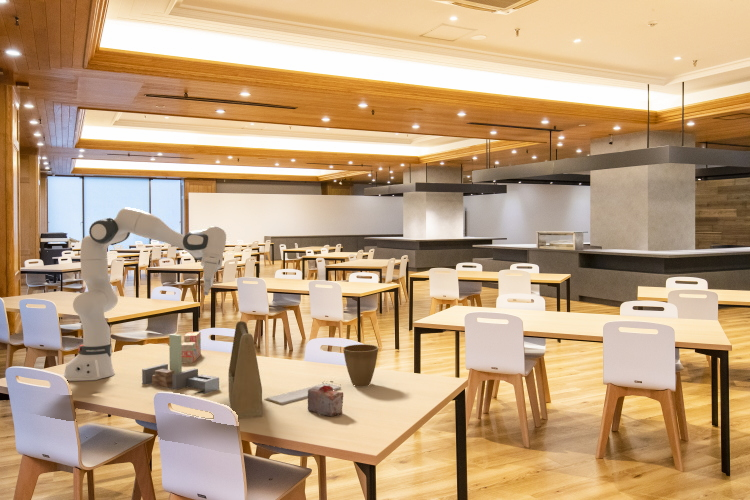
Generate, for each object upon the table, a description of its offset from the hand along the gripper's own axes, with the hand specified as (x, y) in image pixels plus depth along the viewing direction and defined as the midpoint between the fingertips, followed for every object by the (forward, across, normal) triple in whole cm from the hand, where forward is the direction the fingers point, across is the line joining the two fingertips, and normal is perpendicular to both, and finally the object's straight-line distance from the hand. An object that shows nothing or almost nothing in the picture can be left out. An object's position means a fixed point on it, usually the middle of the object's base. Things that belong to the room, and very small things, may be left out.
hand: (205, 293), depth 261 cm
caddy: (+45, +30, +23) cm, 59 cm away
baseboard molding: (+38, +19, +46) cm, 63 cm away
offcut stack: (+40, -2, -10) cm, 42 cm away
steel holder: (+41, +4, +6) cm, 41 cm away
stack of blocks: (+25, -58, -4) cm, 63 cm away
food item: (+44, +45, +51) cm, 81 cm away
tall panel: (+38, -6, -6) cm, 39 cm away
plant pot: (+31, +12, +71) cm, 78 cm away
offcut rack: (+41, -5, -7) cm, 42 cm away
